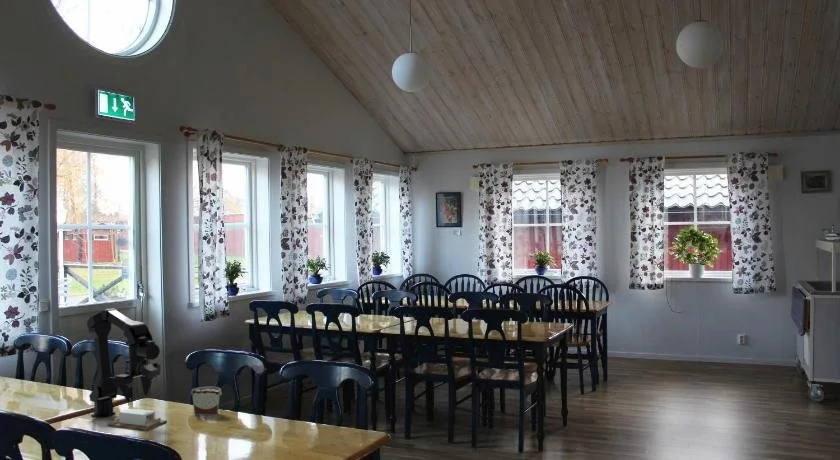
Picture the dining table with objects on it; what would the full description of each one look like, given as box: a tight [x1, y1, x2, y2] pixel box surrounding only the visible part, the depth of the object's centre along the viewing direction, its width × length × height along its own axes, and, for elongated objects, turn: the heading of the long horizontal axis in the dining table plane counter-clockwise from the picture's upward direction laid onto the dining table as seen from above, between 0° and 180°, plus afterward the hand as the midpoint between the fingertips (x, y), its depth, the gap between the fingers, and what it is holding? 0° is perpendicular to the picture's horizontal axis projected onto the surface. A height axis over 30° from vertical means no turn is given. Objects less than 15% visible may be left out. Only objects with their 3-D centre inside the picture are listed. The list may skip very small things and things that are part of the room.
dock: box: [107, 416, 168, 431], centre depth 259 cm, size 18×11×2 cm, turn 71°
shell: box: [118, 408, 156, 426], centre depth 259 cm, size 12×6×4 cm, turn 71°
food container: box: [190, 386, 223, 416], centre depth 275 cm, size 12×6×10 cm, turn 84°
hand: (137, 398), depth 259 cm, fingers open, 9 cm apart
